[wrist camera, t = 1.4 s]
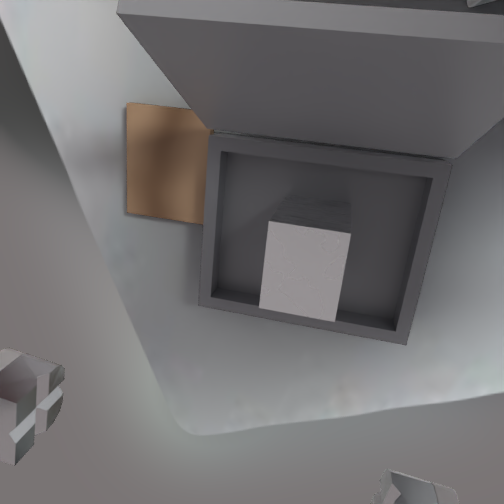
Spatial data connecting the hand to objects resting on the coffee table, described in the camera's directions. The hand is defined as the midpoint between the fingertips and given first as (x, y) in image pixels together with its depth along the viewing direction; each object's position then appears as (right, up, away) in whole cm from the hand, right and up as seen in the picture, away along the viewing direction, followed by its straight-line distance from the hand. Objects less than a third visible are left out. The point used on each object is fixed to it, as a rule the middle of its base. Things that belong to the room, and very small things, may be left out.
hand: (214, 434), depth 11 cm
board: (-6, +12, +26) cm, 29 cm away
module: (+6, +6, +24) cm, 25 cm away
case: (+6, +6, +25) cm, 26 cm away
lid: (+5, +12, +12) cm, 18 cm away
